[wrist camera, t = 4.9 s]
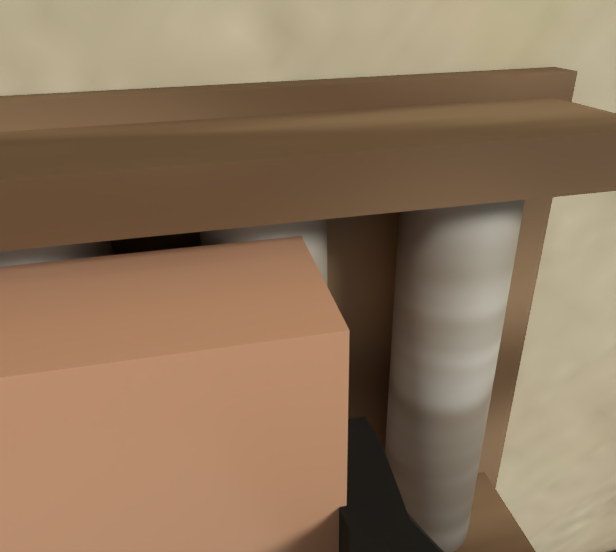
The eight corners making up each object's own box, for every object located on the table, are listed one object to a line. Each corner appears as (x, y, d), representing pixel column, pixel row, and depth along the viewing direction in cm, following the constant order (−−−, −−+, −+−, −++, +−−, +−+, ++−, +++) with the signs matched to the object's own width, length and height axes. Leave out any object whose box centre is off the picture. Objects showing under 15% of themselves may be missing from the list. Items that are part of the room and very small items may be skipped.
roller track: (480, 483, 18) (632, 727, 12) (-112, 599, 15) (-313, 1008, 9) (554, 67, 12) (938, 134, 6) (-415, 118, 9) (-1713, 367, 3)
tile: (311, 571, 13) (343, 711, 11) (-143, 668, 11) (-239, 864, 9) (301, 235, 9) (350, 330, 6) (-412, 308, 7) (-742, 478, 5)
